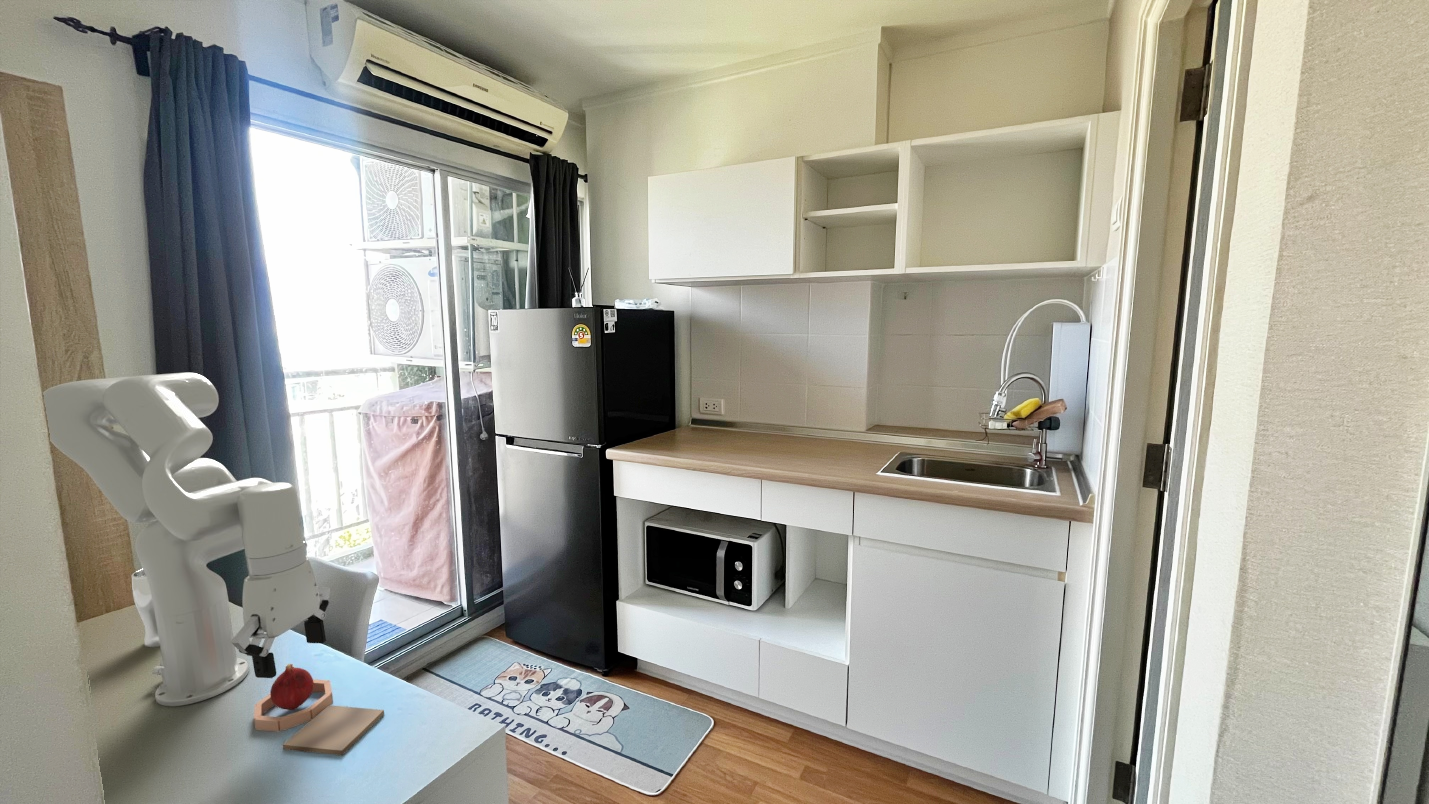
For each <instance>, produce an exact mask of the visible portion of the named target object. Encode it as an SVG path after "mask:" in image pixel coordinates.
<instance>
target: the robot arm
mask: <svg viewBox="0 0 1429 804" xmlns="http://www.w3.org/2000/svg"><path fill="white" fill-rule="evenodd" d="M42 393H43V395H44V403H45V407H46V414H47V420H48V427H49V433H50V440H49V441H50V443H52V444H53V445H54V447H56V449H58V450H59V451H60V452H61V453H63V454H64V455H66V457H68V458H69V459H71V461H73V462H75V463H76V464H77V465H78V466H80V467H81V468H82V469H83V470H85V472H86V473H87V474H88V475H89V476H90V478H91V479H92V482H94V483H95V485H96V486H97V487H98V488H99V491H101V493H102V494H103V495H104V496H105V497H106V500H108V501H109V503H110V504H111V505H112V507H113V508H114V509H115V510H116V512H118V514H119V515H120V516H121V517H122V518H123V519H124V520H127V521H128V522H130V523H133V524H146V523H147V524H148V523H150V524H149V525H147V526H145V527H144V528H143V529H142V530H141V531H139V533H138V534H137V536H136V539H135V543H134V548H135V553H136V555H137V559H138V561H139V563H140V566H141V569H143V570H144V572H145V575H146V577H147V580H148V583H149V587H150V591H151V596H152V601H153V607H154V613H155V618H156V624H157V630H158V636H159V642H160V646H159V647H160V653H161V659H160V661H159V665H157V666H154V667H153V669H152V670H151V674H152V675H157V676H161V678H162V683H161V684H160V685H159V687H157V689H156V690H155V692H154V697H155V701H156V703H157V704H159V705H160V706H161V705H162V706H165V707H166V706H167V707H180V706H186V705H191V704H195V703H199V702H202V701H205V700H208V699H210V698H214V697H215V696H218V695H220V694H223V693H224V692H226V691H228V690H230V689H232V688H233V687H235V686H237V685H238V684H239V683H241V681H243V680H244V679H245V678H246V677H247V675H248V674H249V671H250V665H249V664H250V663H249V662H248V661H247V660H246V659H244V658H240V657H237V652H236V649H237V650H238V652H239V653H240V654H245V655H246V656H247V657H251V658H252V664H253V665H252V666H253V671H254V676H255V677H256V679H257V678H258V679H273V678H275V677H276V675H277V668H276V661H275V656H274V655H275V654H274V653H273V652H271V651H270V650H271V649H272V646H273V643H274V640H275V638H278V637H280V636H281V635H282V634H285V633H286V632H288V631H289V630H291V629H293V628H295V627H296V626H298V625H299V624H301V623H302V622H303V625H304V626H303V627H304V631H305V632H304V633H305V638H306V640H305V641H306V643H308V644H324V643H326V640H327V638H326V631H325V625H324V624H325V623H324V619H326V616H327V612H326V611H327V608H328V606H329V604H330V601H329V599H330V595H331V594H330V593H331V591H332V590H331V588H330V586H318V583H317V579H316V575H315V572H314V570H313V567H312V564H311V561H310V559H309V557H307V553H306V549H307V547H308V543H307V542H306V541H304V533H303V526H302V520H301V515H300V514H301V512H300V507H299V500H298V499H299V497H298V492H297V490H296V489H297V488H296V487H295V486H294V485H293V484H291V483H289V482H282V481H281V482H280V481H279V482H277V481H276V482H272V481H270V480H267V479H265V478H261V477H250V478H244V479H240V480H237V479H236V478H235V477H234V476H233V474H232V473H231V472H230V471H229V470H228V469H227V468H226V466H224V464H222V463H221V462H219V461H216V460H215V459H212V458H207V457H202V456H203V455H204V454H205V453H206V452H208V450H209V448H210V447H211V446H212V444H213V439H214V437H213V433H212V432H211V430H210V429H209V428H208V426H206V425H205V424H204V423H203V422H202V420H201V419H200V418H204V417H208V416H210V415H211V414H213V413H214V412H215V411H216V410H217V408H218V406H219V402H220V401H219V399H220V398H219V393H218V390H217V389H216V387H215V386H214V384H213V383H212V382H211V381H210V380H209V379H207V378H206V377H205V376H204V375H201V374H198V373H196V372H189V371H188V372H176V373H175V372H173V373H162V374H160V373H159V374H146V375H145V374H144V375H134V376H121V377H109V378H108V377H106V378H96V379H94V378H93V379H83V380H77V381H70V382H65V383H61V384H58V385H54V386H52V387H49V388H47V389H46V390H44V391H43V392H42ZM118 425H119V426H120V427H121V428H122V429H123V431H124V432H125V433H122V432H120V431H117V430H114V429H112V428H110V427H113V426H118ZM151 522H152V523H151ZM243 550H244V553H245V554H244V555H245V559H246V567H247V572H248V576H247V577H245V578H244V580H243V585H242V619H243V620H242V621H243V626H242V627H241V629H240V630H239V631H238V632H237V633H236V634H235V635H234V629H233V624H232V623H233V622H232V616H231V609H230V603H229V602H230V601H229V596H228V590H227V585H226V582H225V580H224V578H222V577H221V576H220V575H219V573H218V574H217V573H216V572H214V571H212V570H210V568H208V566H207V564H208V563H211V562H213V561H215V560H217V559H220V558H223V557H226V556H229V555H231V554H234V553H237V552H239V551H243ZM250 639H251V641H250ZM262 641H263V643H262V645H261V646H260V644H261V642H262Z"/></svg>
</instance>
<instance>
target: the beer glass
mask: <svg viewBox="0 0 1429 804" xmlns="http://www.w3.org/2000/svg"><path fill="white" fill-rule="evenodd" d="M131 583H132V584H131V587H132V596H133V601H134V604H135V607H136V609H137V612H138V614H139V616H140V618H141V621H142V623H143V628H144V630H145V631H144V633H145V635H144V647H147V648H159V647H160V642H159V636H158V630H157V624H156V618H155V613H154V607H153V601H152V596H151V591H150V587H149V583H148V580H147V577H146V575H145V572H144V570H143V568H141V569H139V570H136V571H135V572H133V573H132V574H131Z"/></svg>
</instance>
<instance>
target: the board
mask: <svg viewBox="0 0 1429 804" xmlns="http://www.w3.org/2000/svg"><path fill="white" fill-rule="evenodd" d="M384 716H385V710H384V709H379V708H378V709H377V708H367V707H365V708H364V707H363V708H362V707H352V706H341V705H333V704H331V705H329V706H328V707H327V708H325V709H324V710H323V711H322V712H321V713H319V714H318V715H317V716H316V717H315V718H313V719H311V721H309V722H307V723H305V725H304V726H303V727H302V728H300V729H299V730H298V731H297V732H296V733H295V734H293V735H292V736H291V737H290V738H288V739H287V740H286V741H285V742H283V744H281V745H282V750H285V751H294V752H304V753H314V754H315V753H317V754H326V755H337V756H344V755H345V754H346V753H347V752H348V751H349V750H350V748H352V747H353V746H354V745H355V744H356V743H357V742H358V741H359V740H360V739H361V738H362V737H363V736H364V735H365V734H366V733H367V732H368V731H369V730H370V729H371V728H372V727H373V726H374V725H375V724H377V722H378V721H379V720H380V719H382V718H383V717H384Z"/></svg>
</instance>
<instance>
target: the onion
mask: <svg viewBox="0 0 1429 804" xmlns="http://www.w3.org/2000/svg"><path fill="white" fill-rule="evenodd" d="M313 679H314V678H313V677H312V674H311V673H310V672H309V671H308V670H306V669H303V668H301V667H294V666H293V664H292V663H288V664H286V666H285V669H284V671H283V672H282V673H280V674H279V675H278V676H277V677H276V679H275V680H274V681H273V683H272V686H271V688H270V692H269V694H270V696H271V700H272V702H273V704H275V705H274V706H276V707H277V708H279V709H281V710H287V711H295V710H297V709H298V708H299V707H300V706H302V705H303V704H304V703H305V702H307V700H308V699H309V698H310V697H311V694H312V693H313V692H312V690H313V686H314V682H313Z"/></svg>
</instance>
